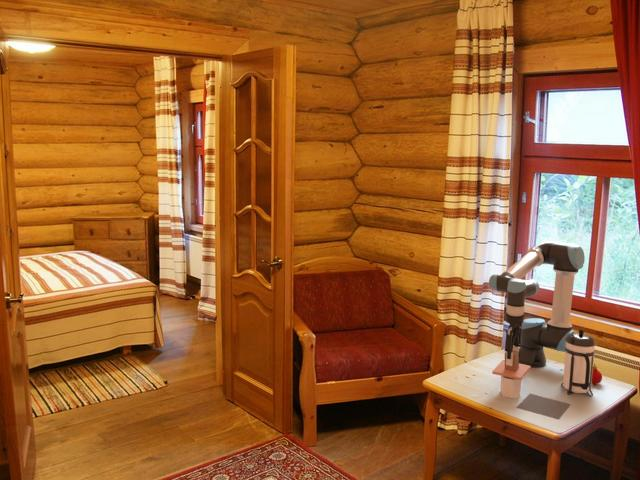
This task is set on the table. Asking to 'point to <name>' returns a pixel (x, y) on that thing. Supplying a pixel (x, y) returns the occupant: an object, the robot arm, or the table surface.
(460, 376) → the table surface
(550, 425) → the table surface
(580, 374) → the coffee press
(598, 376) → the christmas ornament
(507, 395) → the jar
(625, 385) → the table surface
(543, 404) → the mat
